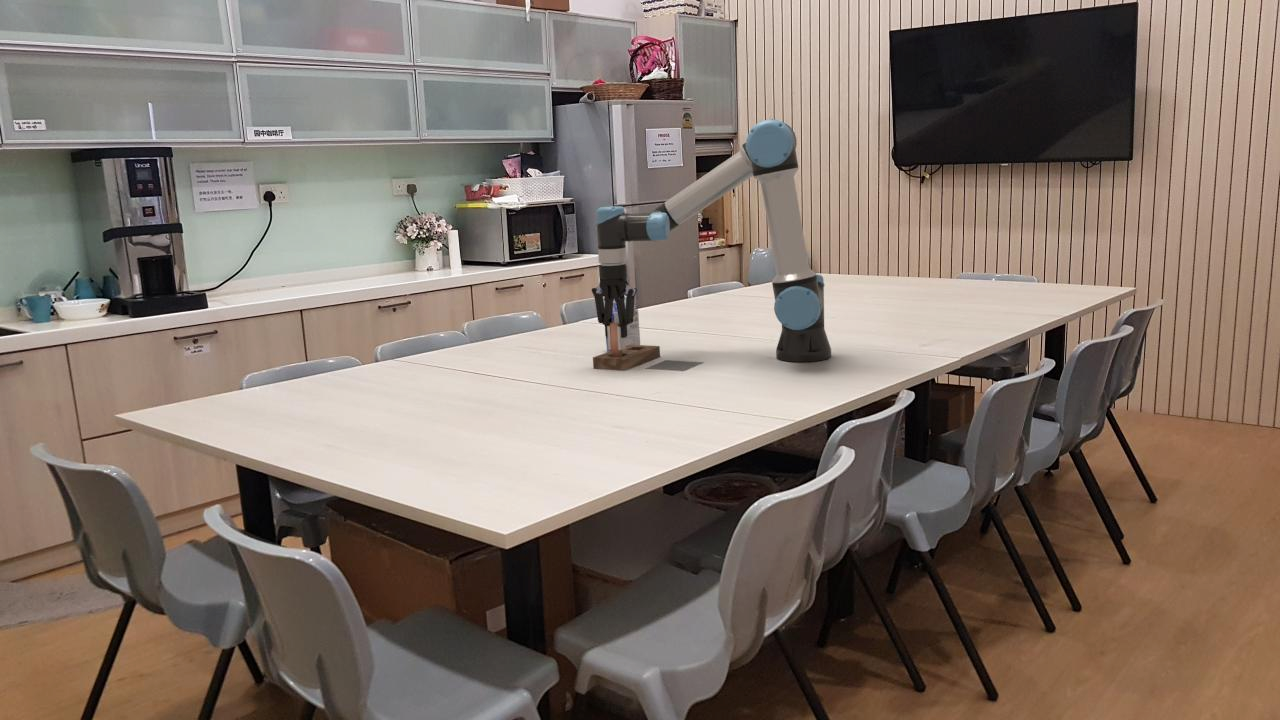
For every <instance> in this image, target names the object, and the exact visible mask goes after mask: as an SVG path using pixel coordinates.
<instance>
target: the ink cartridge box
mask: <svg viewBox="0 0 1280 720" xmlns="http://www.w3.org/2000/svg"><path fill="white" fill-rule="evenodd" d="M612 322H619V318H618V312H617V306H616V302H613V314H612ZM605 344H606V353H607V352H610V351H611V350H609V349H608V337H606V336H605ZM627 345H641V333H640V320H639V309H637V308H634V316H633V323H630V324H628V325H627V337H625V346H627Z"/></svg>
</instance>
